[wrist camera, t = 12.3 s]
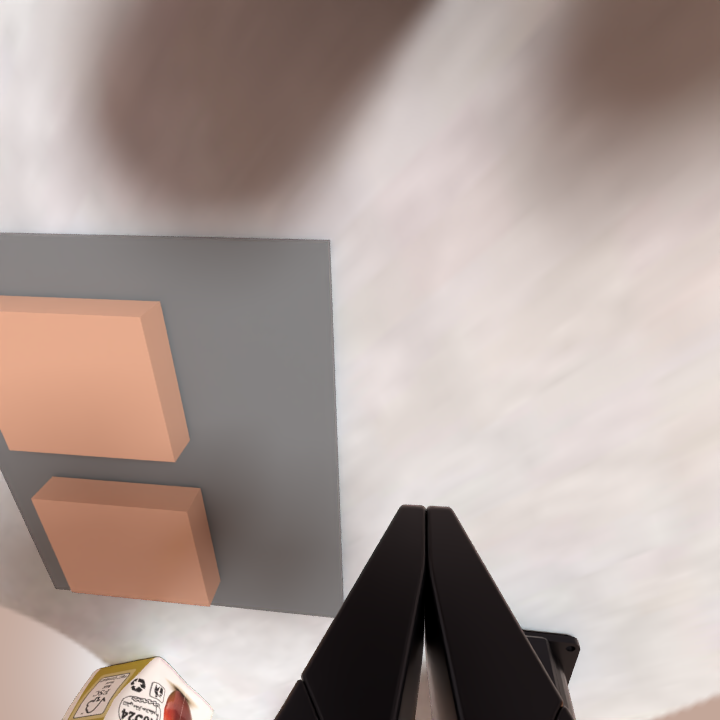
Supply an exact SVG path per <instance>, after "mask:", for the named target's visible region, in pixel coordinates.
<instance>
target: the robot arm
mask: <svg viewBox="0 0 720 720" xmlns="http://www.w3.org/2000/svg"><path fill="white" fill-rule="evenodd" d="M424 619H425V653H426V664H427V673H428V683H429V692H430V701H431V711H432V720H576V718H575V714H574V710H573V706H572V702H571V698H570V693H569V689H568V683H569V680H570V677H571V675H572V672H573V669H574V666H575V663H576V660H577V657H578V654H579V651H580V646H579V642H578V640H577V638H575V637H572V636H563V635H554V634H544V633H534V632H524V631H523V630H522V629H521V627H520V625H519V623H518V622H517V620H516V618H515V616H514V615H513V613H512V611H511V610H510V608H509V606H508V604H507V603H506V601H505V599H504V597H503V596H502V594H501V592H500V591H499V589H498V587H497V585H496V584H495V582H494V580H493V578H492V577H491V575H490V573H489V572H488V570H487V568H486V566H485V565H484V563H483V561H482V560H481V558H480V556H479V554H478V553H477V551H476V549H475V547H474V546H473V544H472V542H471V541H470V539H469V537H468V535H467V534H466V532H465V530H464V528H463V527H462V525H461V523H460V522H459V520H458V518H457V516H456V515H455V513H454V511H453V510H452V509H451V508H450V507H441V506H429V507H427V509H426V508H425V507H424V506H422V505H402V506H401V507H400V508H399V510H398V511H397V513H396V515H395V516H394V518H393V520H392V521H391V523H390V525H389V527H388V528H387V530H386V532H385V533H384V535H383V537H382V538H381V540H380V542H379V544H378V545H377V547H376V549H375V550H374V552H373V554H372V555H371V557H370V559H369V561H368V562H367V564H366V566H365V567H364V569H363V571H362V572H361V574H360V576H359V578H358V579H357V581H356V583H355V584H354V586H353V588H352V589H351V591H350V593H349V595H348V596H347V598H346V600H345V601H344V603H343V605H342V606H341V608H340V610H339V612H338V613H337V615H336V617H335V618H334V620H333V622H332V623H331V625H330V627H329V629H328V630H327V632H326V634H325V635H324V637H323V639H322V640H321V642H320V644H319V646H318V647H317V649H316V651H315V652H314V654H313V656H312V657H311V659H310V661H309V663H308V664H307V666H306V668H305V669H304V671H303V673H302V675H301V679H302V680H298V681H297V682H296V684H295V686H294V687H293V689H292V691H291V693H290V694H289V696H288V698H287V699H286V701H285V703H284V704H283V706H282V708H281V709H280V711H279V713H278V714H277V716H276V717H275V719H274V720H415V714H416V706H417V698H418V690H419V682H420V673H421V665H422V656H423V646H424Z"/></svg>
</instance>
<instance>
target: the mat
mask: <svg viewBox="0 0 720 720" xmlns="http://www.w3.org/2000/svg"><path fill="white" fill-rule="evenodd" d="M0 295H2V296H29V297H56V298H82V299H109V300H136V301H160V303H161V308H162V312H163V317H164V322H165V326H166V331H167V336H168V340H169V345H170V350H171V354H172V359H173V363H174V368H175V373H176V377H177V382H178V387H179V391H180V396H181V401H182V405H183V410H184V414H185V419H186V424H187V428H188V433H189V438H190V441H189V442H188V444H187V445H186V447H185V448H184V450H183V451H182V453H181V454H180V456H179V457H178V459H177V460H176V462H164V461H150V460H136V459H123V458H109V457H95V456H82V455H68V454H55V453H41V452H27V451H14V450H9V448H8V446H7V443H6V441H5V439H4V436H3V434H2V432H1V430H0V469H1V471H2V474H3V476H4V478H5V480H6V482H7V484H8V487H9V489H10V491H11V493H12V495H13V497H14V500H15V502H16V504H17V506H18V508H19V510H20V513H21V515H22V517H23V519H24V521H25V523H26V526H27V528H28V530H29V532H30V534H31V536H32V539H33V541H34V543H35V545H36V547H37V549H38V552H39V554H40V556H41V558H42V560H43V562H44V565H45V567H46V569H47V571H48V573H49V575H50V578H51V580H52V582H53V584H54V586H55V588H56V589H64V590H71V589H70V586H69V584H68V582H67V580H66V577H65V575H64V573H63V570H62V568H61V566H60V564H59V561H58V559H57V557H56V555H55V552H54V550H53V548H52V545H51V543H50V541H49V539H48V536H47V534H46V532H45V530H44V527H43V525H42V523H41V520H40V518H39V516H38V514H37V511H36V509H35V507H34V504H33V502H32V500H31V498H32V497H33V496H34V495H35V494H36V493H37V492H38V491H39V490H40V489H41V488H42V487H43V486H44V485H45V484H46V483H47V482H48V481H49V480H50V479H51V478H52V477H66V478H79V479H91V480H104V481H117V482H130V483H142V484H155V485H168V486H180V487H193V488H201V493H202V497H203V502H204V507H205V511H206V516H207V521H208V525H209V530H210V535H211V539H212V544H213V548H214V553H215V558H216V562H217V567H218V572H219V576H220V583H219V586H218V588H217V590H216V593H215V595H214V598H213V600H212V602H211V605H217V606H226V607H236V608H245V609H255V610H265V611H274V612H284V613H293V614H303V615H312V616H322V617H331V618H335V617H336V615H337V613H338V612H339V610H340V608H341V606H342V605H343V577H342V550H341V524H340V497H339V470H338V444H337V417H336V390H335V364H334V337H333V310H332V284H331V257H330V240H302V239H258V238H213V237H169V236H124V235H80V234H35V233H0Z"/></svg>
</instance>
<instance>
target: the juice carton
mask: <svg viewBox="0 0 720 720" xmlns="http://www.w3.org/2000/svg"><path fill="white" fill-rule="evenodd" d="M212 715H213V708H212V707H211V706H210V705H209V704H208V703H207V702H206V701H205V700H204V699H203V698H202V697H201V696H200V695H199V694H198V693H197V692H196V691H195V690H193V689H192V688H191V687H190V686H189V685H188V684H187V683H186V682H185V681H184V680H183V679H182V678H181V677H180V675H179V674H178V673H177V672H176V671H175V670H174V669H173V668H172V667H171V666H170V665H169V664H168V663H167V662H166V661H165V660H163V659H162V658H161V657H155V658H149V659H144V660H139V661H134V662H129V663H124V664H119V665H114V666H109V667H104V668H100V669H97V670H96V671H95V672H94V673H93V674H92V675H91V677H90V678H89V679H88V681H87V682H86V683H85V685H84V686H83V688H82V689H81V690H80V692H79V693H78V695H77V696H76V698H75V699H74V701H73V702H72V704H71V705H70V707H69V708H68V710H67V712H66V714H65V715H64V717H63V719H62V720H211V719H212Z"/></svg>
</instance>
